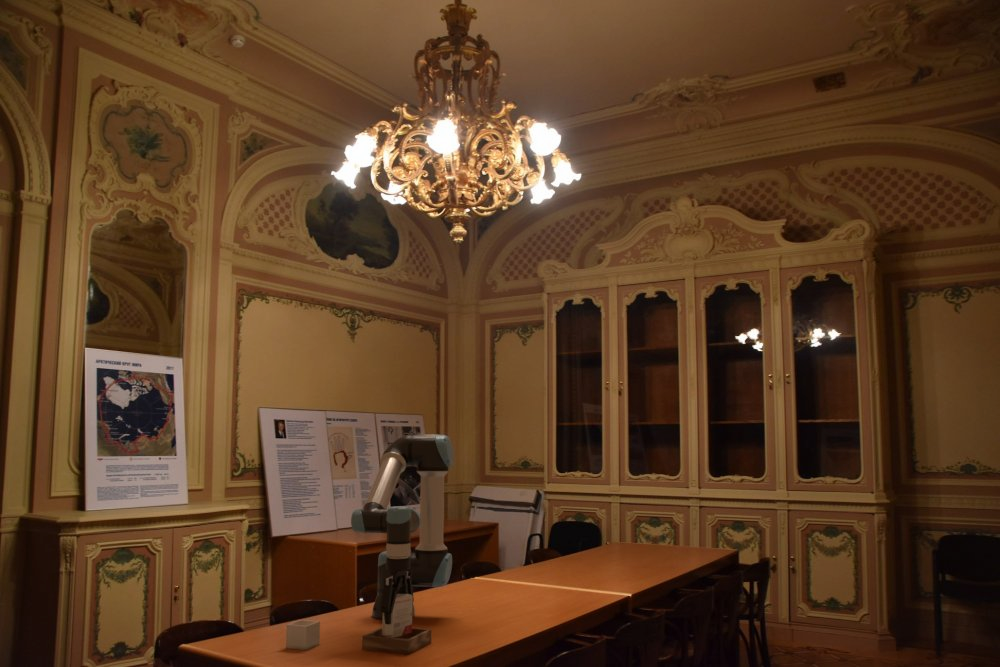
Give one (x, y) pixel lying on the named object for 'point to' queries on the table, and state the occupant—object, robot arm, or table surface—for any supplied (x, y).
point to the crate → (396, 641)
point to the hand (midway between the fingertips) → (397, 630)
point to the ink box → (401, 616)
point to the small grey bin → (302, 634)
